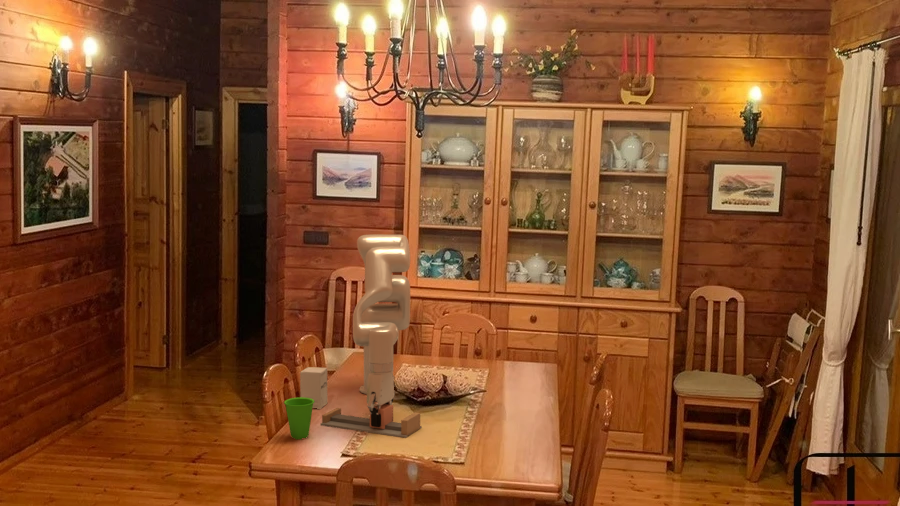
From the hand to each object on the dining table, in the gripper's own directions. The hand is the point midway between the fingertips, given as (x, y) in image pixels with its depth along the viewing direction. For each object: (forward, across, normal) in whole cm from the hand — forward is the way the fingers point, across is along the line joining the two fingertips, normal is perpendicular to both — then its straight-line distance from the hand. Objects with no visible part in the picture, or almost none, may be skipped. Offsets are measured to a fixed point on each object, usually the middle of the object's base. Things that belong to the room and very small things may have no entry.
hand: (381, 422), depth 284 cm
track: (+2, 0, -4) cm, 4 cm away
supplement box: (+2, -12, -32) cm, 34 cm away
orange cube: (+2, 0, 0) cm, 2 cm away
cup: (+2, +18, -18) cm, 26 cm away
